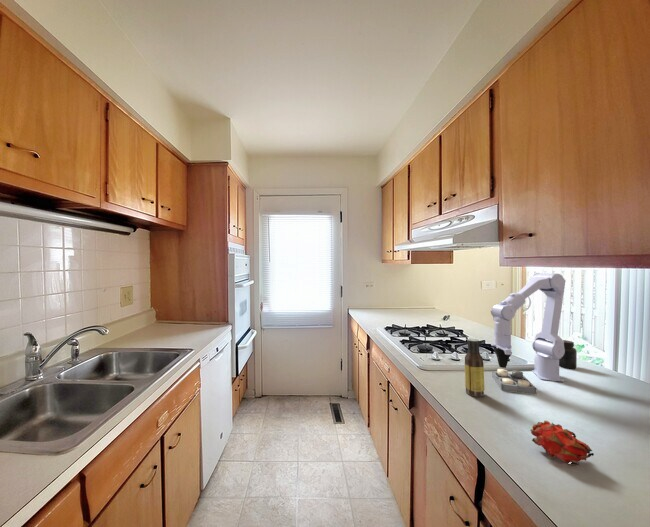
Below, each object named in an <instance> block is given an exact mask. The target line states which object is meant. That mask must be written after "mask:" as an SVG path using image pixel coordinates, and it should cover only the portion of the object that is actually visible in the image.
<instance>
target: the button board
mask: <svg viewBox="0 0 650 527" xmlns="http://www.w3.org/2000/svg"><path fill="white" fill-rule="evenodd" d="M491 378H492V379H493V380H494V382H495V384H496V385H497V386H498V388H499V389H500V390H501V391H503V392H510V393H519V394H529V395H537V390H538V389H537V387H535V385H534V384H533V383H532V382H531V381H530V380H528V378H527V377H526V376H525V375H524V374H523V378H522V379H518V378H514V377H512V373H509V372H508V377H501V376H499V375H497V371H492V372H491ZM502 378H509V379H512V380H513V385H512V384H503V383H502ZM518 380H525V381H528V382H529V386H521V385H518Z"/></svg>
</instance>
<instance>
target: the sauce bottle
mask: <svg viewBox="0 0 650 527" xmlns="http://www.w3.org/2000/svg"><path fill="white" fill-rule="evenodd" d="M466 342H467V352H466V354H465V356H464V382H465V384H464V386H465V393H466V394H467V395H469V396H471V397H476V398H479V397H484V395H485V368H484V366H485V364H484V358H483V357H482V355H481V354H480V343H481V342H480V340H479V339H477V338H467V339H466Z"/></svg>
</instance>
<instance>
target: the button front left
mask: <svg viewBox="0 0 650 527" xmlns="http://www.w3.org/2000/svg"><path fill="white" fill-rule="evenodd" d="M518 385H521V386H529V382H528V381H525V380H518Z"/></svg>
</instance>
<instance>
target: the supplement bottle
mask: <svg viewBox="0 0 650 527" xmlns="http://www.w3.org/2000/svg"><path fill="white" fill-rule="evenodd" d="M562 340H563V341H564V349H565V353H564V355H563V357H561V359H559V368H563V369H564V370H565V369H567V370H576V369H577V363H578V362H577V360H578V357H577V355H578V353H577V352H578V351H577V349H576V348H575V343H574V342H573V341H571V340H566V339H565V340H564V339H562Z"/></svg>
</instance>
